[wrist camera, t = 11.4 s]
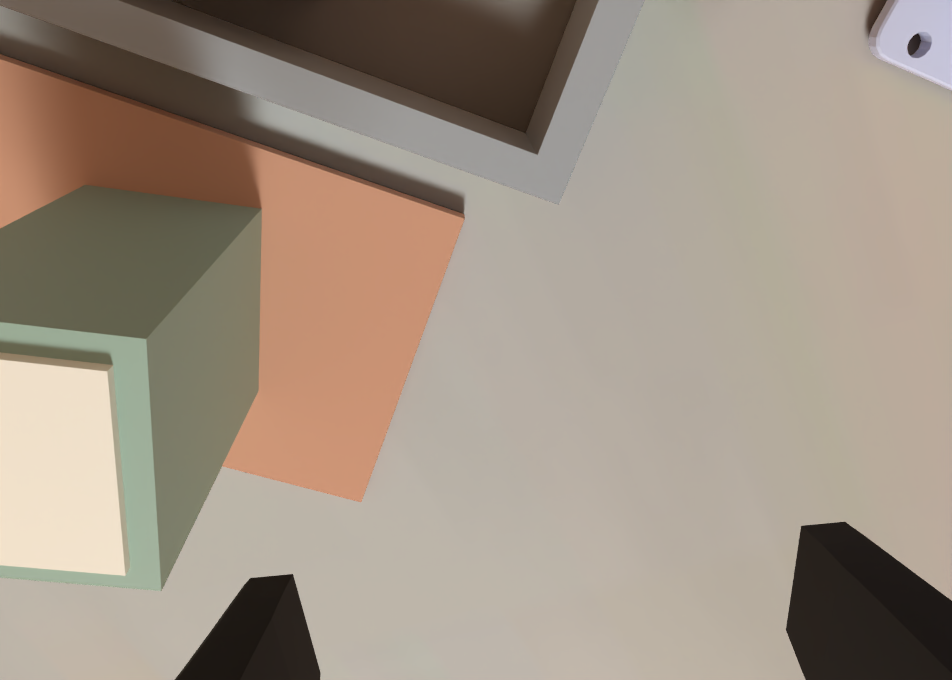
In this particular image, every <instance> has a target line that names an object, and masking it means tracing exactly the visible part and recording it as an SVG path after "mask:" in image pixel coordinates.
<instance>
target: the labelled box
mask: <svg viewBox="0 0 952 680" xmlns="http://www.w3.org/2000/svg"><path fill="white" fill-rule="evenodd" d="M261 228H262V209H260V208H253V207H246V206H238V205H231V204H223V203H216V202H209V201H201V200H194V199H187V198H179V197H172V196H164V195H157V194H150V193H142V192H135V191H128V190H120V189H113V188H105V187H98V186H91V185H84V186H82V187H80V188H78V189H76V190H74V191H72V192H70V193H68V194H66V195H64V196H62V197H60V198H58V199H56V200H54V201H53V202H51V203H49V204H47V205H45V206H43V207H41V208H39V209H37V210H35V211H33V212H31V213H29V214H27V215H25V216H23V217H21V218H20V219H18V220H16V221H14V222H12V223H10V224H8V225H6V226H4V227H2V228H0V578H11V579H23V580H35V581H47V582H59V583H71V584H83V585H96V586H108V587H120V588H132V589H144V590H156V591H162V589H163V587H164V585H165V582H166V580H167V578H168V576H169V574H170V572H171V570H172V568H173V566H174V564H175V562H176V560H177V558H178V556H179V554H180V552H181V549H182V547H183V545H184V543H185V541H186V539H187V537H188V535H189V533H190V531H191V529H192V527H193V525H194V523H195V521H196V519H197V516H198V514H199V512H200V510H201V508H202V506H203V504H204V502H205V500H206V498H207V496H208V494H209V492H210V490H211V488H212V486H213V484H214V481H215V479H216V477H217V475H218V473H219V471H220V469H221V467H222V465H223V463H224V461H225V459H226V457H227V455H228V453H229V451H230V448H231V446H232V444H233V442H234V440H235V438H236V436H237V434H238V432H239V430H240V428H241V426H242V424H243V422H244V420H245V418H246V415H247V413H248V411H249V409H250V407H251V405H252V403H253V401H254V399H255V397H256V395H257V393H258V391H259V337H260V283H261Z"/></svg>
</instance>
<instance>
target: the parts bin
mask: <svg viewBox="0 0 952 680" xmlns="http://www.w3.org/2000/svg"><path fill="white" fill-rule="evenodd" d="M644 1H645V0H576V3H575V5H574V8H573V11H572V13H571V16H570V18H569V21H568V24H567V26H566V29H565V32H564V34H563V37H562V39H561V42H560V45H559V47H558V50H557V52H556V55H555V58H554V60H553V63H552V66H551V68H550V71H549V73H548V76H547V79H546V81H545V84H544V86H543V89H542V92H541V94H540V97H539V99H538V102H537V105H536V107H535V110H534V113H533V115H532V118H531V120H530V123H529V126H528V128H527V131H526V133H524V132H521V131H518V130H516V129H513V128H510V127H508V126H505V125H502V124H499V123H497V122H494V121H491V120H489V119H486V118H483V117H481V116H478V115H475V114H473V113H470V112H467V111H465V110H462V109H459V108H457V107H454V106H451V105H449V104H446V103H443V102H441V101H438V100H435V99H433V98H430V97H427V96H425V95H422V94H419V93H417V92H414V91H411V90H409V89H406V88H403V87H400V86H398V85H395V84H392V83H390V82H387V81H384V80H382V79H379V78H376V77H374V76H371V75H368V74H366V73H363V72H360V71H358V70H355V69H352V68H350V67H347V66H344V65H342V64H339V63H336V62H334V61H331V60H328V59H326V58H323V57H320V56H318V55H315V54H312V53H309V52H307V51H304V50H301V49H299V48H296V47H293V46H291V45H288V44H285V43H283V42H280V41H277V40H275V39H272V38H269V37H267V36H264V35H261V34H259V33H256V32H253V31H251V30H248V29H245V28H243V27H240V26H237V25H235V24H232V23H229V22H227V21H224V20H221V19H219V18H216V17H213V16H210V15H208V14H205V13H202V12H200V11H197V10H194V9H192V8H189V7H186V6H184V5H181V4H178V3H176V2H173V1H170V0H0V5H1V6H3V7H6V8H9V9H12V10H15V11H17V12H20V13H23V14H26V15H29V16H31V17H34V18H37V19H40V20H43V21H45V22H48V23H51V24H54V25H57V26H59V27H62V28H65V29H68V30H71V31H73V32H76V33H79V34H82V35H85V36H87V37H90V38H93V39H96V40H99V41H101V42H104V43H107V44H110V45H113V46H115V47H118V48H121V49H124V50H127V51H129V52H132V53H135V54H138V55H141V56H143V57H146V58H149V59H152V60H155V61H157V62H160V63H163V64H166V65H169V66H171V67H174V68H177V69H180V70H183V71H185V72H188V73H191V74H194V75H197V76H199V77H202V78H205V79H208V80H211V81H213V82H216V83H219V84H222V85H225V86H227V87H230V88H233V89H236V90H239V91H241V92H244V93H247V94H250V95H253V96H255V97H258V98H261V99H264V100H267V101H269V102H272V103H275V104H278V105H281V106H283V107H286V108H289V109H292V110H295V111H297V112H300V113H303V114H306V115H309V116H311V117H314V118H317V119H320V120H323V121H325V122H328V123H331V124H334V125H337V126H339V127H342V128H345V129H348V130H351V131H353V132H356V133H359V134H362V135H365V136H367V137H370V138H373V139H376V140H379V141H381V142H384V143H387V144H390V145H393V146H395V147H398V148H401V149H404V150H407V151H409V152H412V153H415V154H418V155H421V156H423V157H426V158H429V159H432V160H435V161H437V162H440V163H443V164H446V165H449V166H451V167H454V168H457V169H460V170H463V171H465V172H468V173H471V174H474V175H477V176H479V177H482V178H485V179H488V180H491V181H493V182H496V183H499V184H502V185H505V186H507V187H510V188H513V189H516V190H519V191H521V192H524V193H527V194H530V195H533V196H535V197H538V198H541V199H544V200H547V201H549V202H552V203H555V204H558V205H559V203H560V201H561V198H562V196H563V193H564V191H565V189H566V186H567V184H568V181H569V179H570V177H571V174H572V172H573V170H574V167H575V165H576V162H577V160H578V158H579V155H580V153H581V151H582V148H583V146H584V143H585V141H586V139H587V136H588V134H589V132H590V129H591V127H592V124H593V122H594V120H595V117H596V115H597V113H598V110H599V108H600V105H601V103H602V101H603V98H604V96H605V94H606V91H607V89H608V86H609V84H610V82H611V79H612V77H613V75H614V72H615V70H616V67H617V65H618V63H619V60H620V58H621V55H622V53H623V51H624V48H625V46H626V44H627V41H628V39H629V36H630V34H631V32H632V29H633V27H634V25H635V22H636V20H637V17H638V15H639V13H640V10H641V8H642V6H643V3H644Z"/></svg>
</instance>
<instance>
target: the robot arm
mask: <svg viewBox="0 0 952 680" xmlns="http://www.w3.org/2000/svg"><path fill="white" fill-rule="evenodd" d="M917 33H918V34H919V35H920V38H921V43H920V46H919V49H918V50H917V51H916V52H915V53H914V54H912V55H909V54H908V50H907V46H908V43H909V40H910V39H911V38H912V37H913V36H914V35H915V34H917ZM869 48H870V50H871V52H872V54H873V55H874V56H876V57H877V58H878V59H880V60H883V61H885V62H887V63H890V64H892V65H894V66H896V67H899V68H901V69H903V70H906V71H908V72H910V73H912V74H915V75H917V76H919V77H922V78H924V79H926V80H928V81H931V82H933V83H935V84H938V85H940V86H942V87H944V88H947V89H949V90H951V91H952V0H887V2H886V3H885V5H884V7H883V9H882V11H881V12H880V14H879V16H878V18H877V20H876V21H875V23H874V25H873V27H872V29H871V32H870V35H869ZM786 631H787V633H788V636H789V639H790V641H791V644H792V646H793V649H794V651H795V654H796V657H797V659H798V662H799V664H800V667H801V669H802V672H803V674H804V677H805V679H806V680H952V601H951V600H950V599H949V598H947V597H946V596H944V595H943V594H942V593H940V592H939V591H938V590H936V589H935V588H934V587H932V586H931V585H930V584H928V583H927V582H926V581H924V580H923V579H922V578H920V577H919V576H918V575H916V574H915V573H914V572H912V571H911V570H909V569H908V568H907V567H905V566H904V565H903V564H901V563H900V562H899V561H897V560H896V559H895V558H893V557H892V556H891V555H889V554H888V553H887V552H885V551H884V550H883V549H881V548H880V547H879V546H877V545H876V544H875V543H873V542H872V541H871V540H869V539H868V538H867V537H865V536H864V535H863V534H861V533H860V532H858V531H857V530H856V529H854V528H853V527H851V526H850V525H849V524H847V523H846V522H838V523H827V524H817V525H806V526H801V532H800V538H799V545H798V552H797V559H796V566H795V572H794V579H793V586H792V593H791V600H790V607H789V613H788V620H787V627H786ZM175 680H320V670H319V666H318V663H317V659H316V655H315V652H314V648H313V645H312V641H311V637H310V634H309V630H308V627H307V623H306V620H305V616H304V612H303V609H302V605H301V602H300V598H299V594H298V591H297V587H296V584H295V580H294V577H293V574H290V575H279V576H269V577H258V578H250V579H249V580H248V582H247V583H246V584H245V585H244V586H243V588H242V589H241V590H240V592H239V593H238V594H237V596H236V597H235V599H234V600H233V601H232V603H231V604H230V605H229V607H228V608H227V610H226V611H225V612H224V614H223V615H222V617H221V618H220V619H219V621H218V622H217V623H216V625H215V626H214V628H213V629H212V630H211V632H210V633H209V635H208V636H207V637H206V639H205V640H204V641H203V643H202V644H201V645H200V647H199V648H198V650H197V651H196V652H195V654H194V655H193V656H192V658H191V659H190V660H189V662H188V663H187V664H186V666H185V667H184V669H183V670H182V671H181V672H180V674H179V675H178V676H177V678H176V679H175Z"/></svg>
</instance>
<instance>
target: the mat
mask: <svg viewBox="0 0 952 680" xmlns="http://www.w3.org/2000/svg"><path fill="white" fill-rule="evenodd" d="M84 185H91V186H98V187H105V188H113V189H120V190H128V191H135V192H142V193H150V194H157V195H164V196H172V197H179V198H187V199H194V200H201V201H209V202H216V203H223V204H231V205H238V206H246V207H253V208H260V209H262V228H261V283H260V337H259V391H258V393H257V395H256V397H255V399H254V401H253V403H252V405H251V407H250V409H249V411H248V413H247V415H246V418H245V420H244V422H243V424H242V426H241V428H240V430H239V432H238V434H237V436H236V438H235V440H234V442H233V444H232V446H231V448H230V451H229V453H228V455H227V457H226V459H225V461H224V463H223V465H222V466H223V467H227V468H231V469H235V470H239V471H243V472H246V473H250V474H254V475H258V476H262V477H266V478H270V479H273V480H277V481H281V482H285V483H289V484H293V485H297V486H300V487H304V488H308V489H312V490H316V491H320V492H324V493H327V494H331V495H335V496H339V497H343V498H347V499H351V500H354V501H358V502H361V501H362V499H363V496H364V493H365V490H366V488H367V485H368V482H369V479H370V477H371V474H372V471H373V468H374V466H375V463H376V460H377V457H378V455H379V452H380V449H381V447H382V444H383V441H384V438H385V436H386V433H387V430H388V427H389V425H390V422H391V419H392V416H393V414H394V411H395V408H396V405H397V403H398V400H399V397H400V394H401V392H402V389H403V386H404V384H405V381H406V378H407V375H408V373H409V370H410V367H411V364H412V362H413V359H414V356H415V353H416V351H417V348H418V345H419V342H420V340H421V337H422V334H423V331H424V329H425V326H426V323H427V321H428V318H429V315H430V312H431V310H432V307H433V304H434V301H435V299H436V296H437V293H438V290H439V288H440V285H441V282H442V279H443V277H444V274H445V271H446V269H447V266H448V263H449V260H450V258H451V255H452V252H453V249H454V247H455V244H456V241H457V238H458V236H459V233H460V230H461V227H462V225H463V222H464V219H465V217H464V214H462V213H459V212H456V211H453V210H450V209H448V208H445V207H442V206H439V205H436V204H433V203H430V202H427V201H424V200H422V199H419V198H416V197H413V196H410V195H407V194H404V193H401V192H398V191H395V190H393V189H390V188H387V187H384V186H381V185H378V184H375V183H372V182H369V181H366V180H364V179H361V178H358V177H355V176H352V175H349V174H346V173H343V172H340V171H338V170H335V169H332V168H329V167H326V166H323V165H320V164H317V163H314V162H311V161H309V160H306V159H303V158H300V157H297V156H294V155H291V154H288V153H285V152H283V151H280V150H277V149H274V148H271V147H268V146H265V145H262V144H259V143H256V142H254V141H251V140H248V139H245V138H242V137H239V136H236V135H233V134H230V133H228V132H225V131H222V130H219V129H216V128H213V127H210V126H207V125H204V124H201V123H199V122H196V121H193V120H190V119H187V118H184V117H181V116H178V115H175V114H172V113H170V112H167V111H164V110H161V109H158V108H155V107H152V106H149V105H146V104H144V103H141V102H138V101H135V100H132V99H129V98H126V97H123V96H120V95H117V94H115V93H112V92H109V91H106V90H103V89H100V88H97V87H94V86H91V85H89V84H86V83H83V82H80V81H77V80H74V79H71V78H68V77H65V76H62V75H60V74H57V73H54V72H51V71H48V70H45V69H42V68H39V67H36V66H34V65H31V64H28V63H25V62H22V61H19V60H16V59H13V58H10V57H7V56H5V55H2V54H0V228H2V227H4V226H6V225H8V224H10V223H12V222H14V221H16V220H18V219H20V218H21V217H23V216H25V215H27V214H29V213H31V212H33V211H35V210H37V209H39V208H41V207H43V206H45V205H47V204H49V203H51V202H53V201H54V200H56V199H58V198H60V197H62V196H64V195H66V194H68V193H70V192H72V191H74V190H76V189H78V188H80V187H82V186H84Z"/></svg>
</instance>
